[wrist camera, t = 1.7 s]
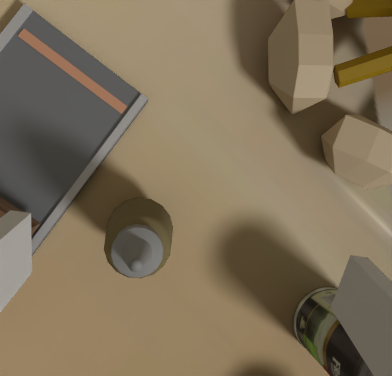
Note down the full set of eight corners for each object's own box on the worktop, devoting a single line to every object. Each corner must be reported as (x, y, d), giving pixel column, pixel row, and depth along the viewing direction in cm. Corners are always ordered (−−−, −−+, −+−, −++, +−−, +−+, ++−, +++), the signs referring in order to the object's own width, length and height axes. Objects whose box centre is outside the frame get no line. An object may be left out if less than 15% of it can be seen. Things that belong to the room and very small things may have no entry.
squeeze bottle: (121, 187, 41) (100, 199, 23) (178, 205, 42) (201, 230, 24) (102, 245, 41) (66, 301, 23) (160, 261, 42) (169, 326, 24)
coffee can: (314, 366, 47) (385, 448, 33) (280, 312, 45) (339, 375, 31) (366, 326, 48) (457, 390, 34) (335, 273, 46) (416, 316, 32)
